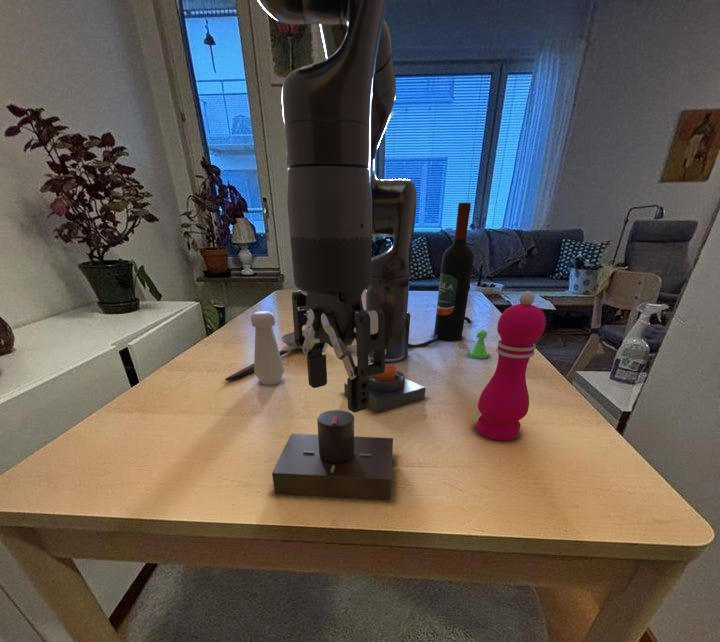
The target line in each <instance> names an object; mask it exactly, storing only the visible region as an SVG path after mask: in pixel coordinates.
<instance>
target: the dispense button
mask: <svg viewBox="0 0 720 642" xmlns="http://www.w3.org/2000/svg"><path fill="white" fill-rule="evenodd" d="M396 371H397V367H396V366H394V365H390V364H385V371H384V373H383V374H379V375H375V376H374V378H375V379H378V380H393V379H396Z"/></svg>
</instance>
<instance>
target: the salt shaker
mask: <svg viewBox="0 0 720 642" xmlns="http://www.w3.org/2000/svg"><path fill="white" fill-rule="evenodd" d="M250 322H251V326H252V327H253V328H254V329H255V330H254V331H255V332H254V357H253V358H254V360H253V361H254V362H253V364H254V371H253V372H254V375H255V376H256V378H257V379H258V380H259V382H260V383H261V384H262V385H267V386H274V385H277V384H280V383H281V381H282V378H283V375H284V373H285V367H284V364H283V361H282V360H283V359H282V356H280V353H279V351H280V350H279V347H278V346H279V345H278V343H277V339H276V336H275V332H274V328H273V327H274V326H275V325H276V319H275V315H274V314H273V313H272V312H270V311H266V310H260V311H255V312H253V313H252V314H251V315H250Z"/></svg>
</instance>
